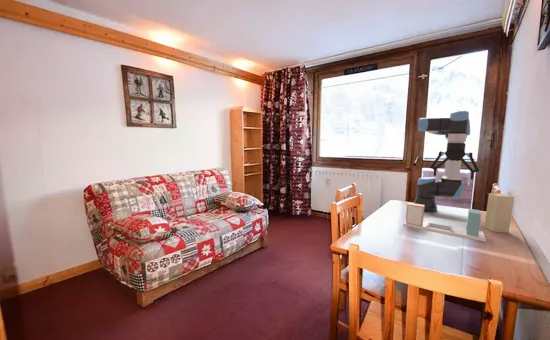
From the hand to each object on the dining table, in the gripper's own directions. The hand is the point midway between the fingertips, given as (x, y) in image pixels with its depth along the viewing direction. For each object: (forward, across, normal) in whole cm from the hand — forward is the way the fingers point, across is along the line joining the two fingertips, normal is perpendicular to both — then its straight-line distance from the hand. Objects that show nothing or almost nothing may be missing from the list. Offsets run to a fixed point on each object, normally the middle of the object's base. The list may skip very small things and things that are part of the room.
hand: (451, 183), depth 128 cm
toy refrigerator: (+27, +22, +21) cm, 41 cm away
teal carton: (+26, +11, +5) cm, 28 cm away
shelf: (+27, -2, +4) cm, 28 cm away
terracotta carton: (+26, -15, 0) cm, 30 cm away
